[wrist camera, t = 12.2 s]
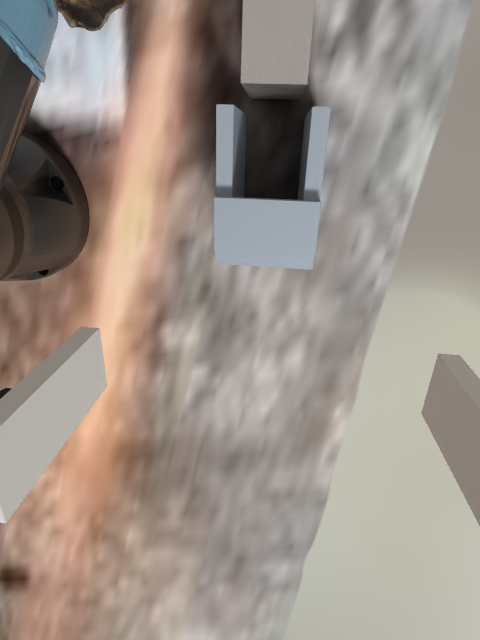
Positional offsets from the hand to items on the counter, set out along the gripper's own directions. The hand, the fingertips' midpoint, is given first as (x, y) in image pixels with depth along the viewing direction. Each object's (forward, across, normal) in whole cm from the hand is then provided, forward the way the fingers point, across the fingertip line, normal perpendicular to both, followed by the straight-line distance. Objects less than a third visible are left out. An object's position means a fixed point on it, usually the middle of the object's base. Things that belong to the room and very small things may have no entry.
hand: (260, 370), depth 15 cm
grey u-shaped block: (+27, -1, +6) cm, 27 cm away
